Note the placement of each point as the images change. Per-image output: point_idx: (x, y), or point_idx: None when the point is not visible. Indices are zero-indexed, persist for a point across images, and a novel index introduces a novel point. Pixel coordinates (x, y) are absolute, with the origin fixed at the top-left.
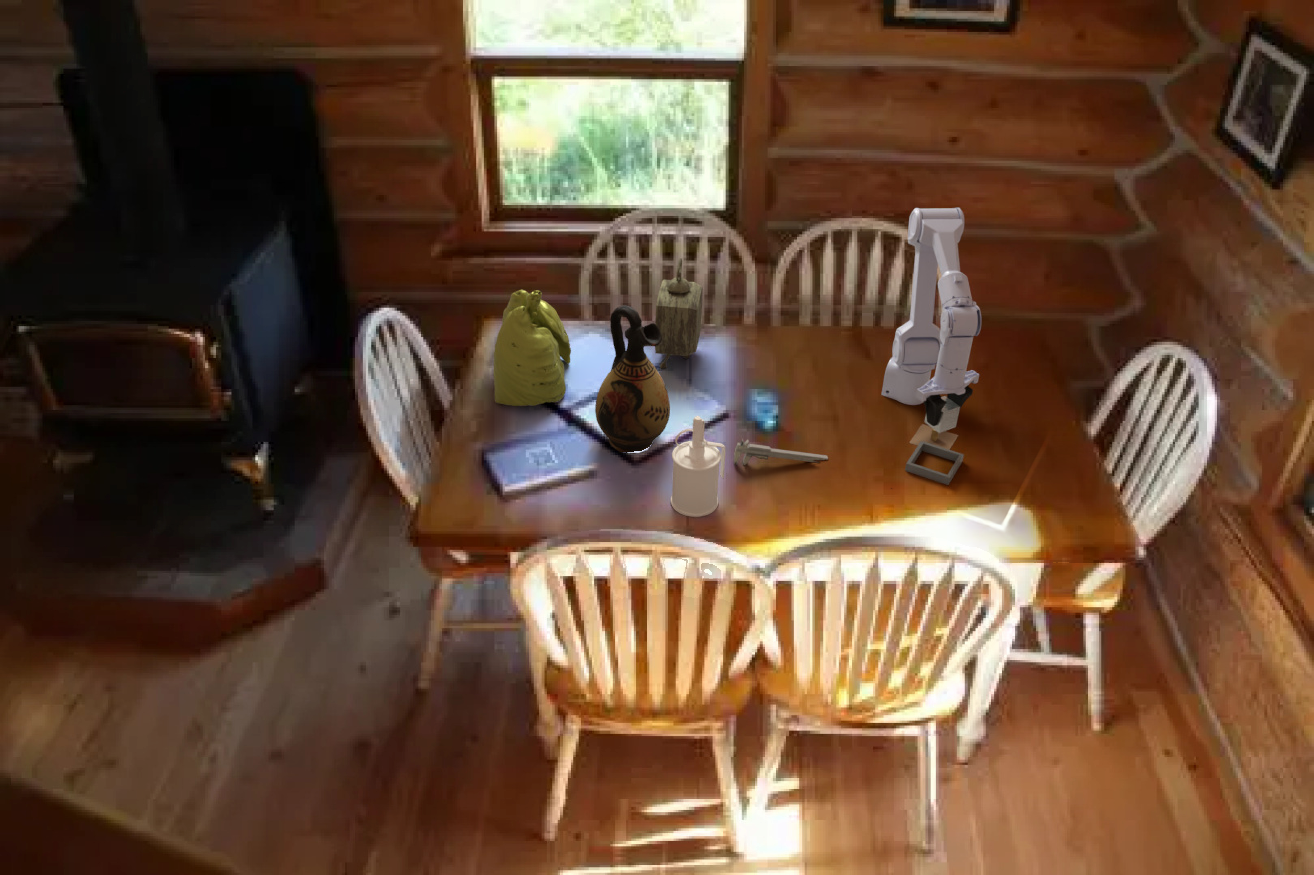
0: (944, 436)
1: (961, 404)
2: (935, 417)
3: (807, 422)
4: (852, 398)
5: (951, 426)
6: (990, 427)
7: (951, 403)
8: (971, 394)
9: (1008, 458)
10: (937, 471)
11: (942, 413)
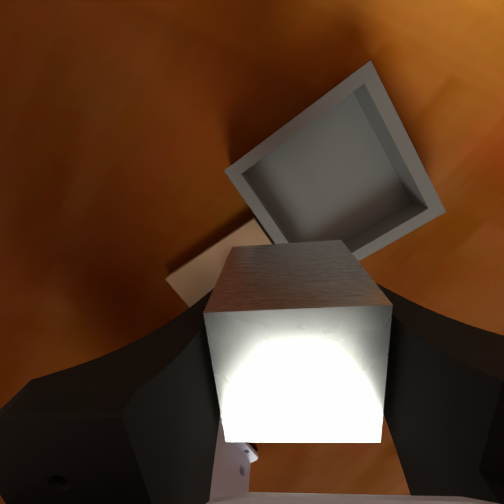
0: (205, 290)
1: (175, 329)
2: (412, 302)
3: None
4: (310, 476)
5: (261, 249)
6: (58, 277)
7: (242, 366)
8: (40, 380)
9: (73, 133)
10: (383, 120)
11: (385, 303)
